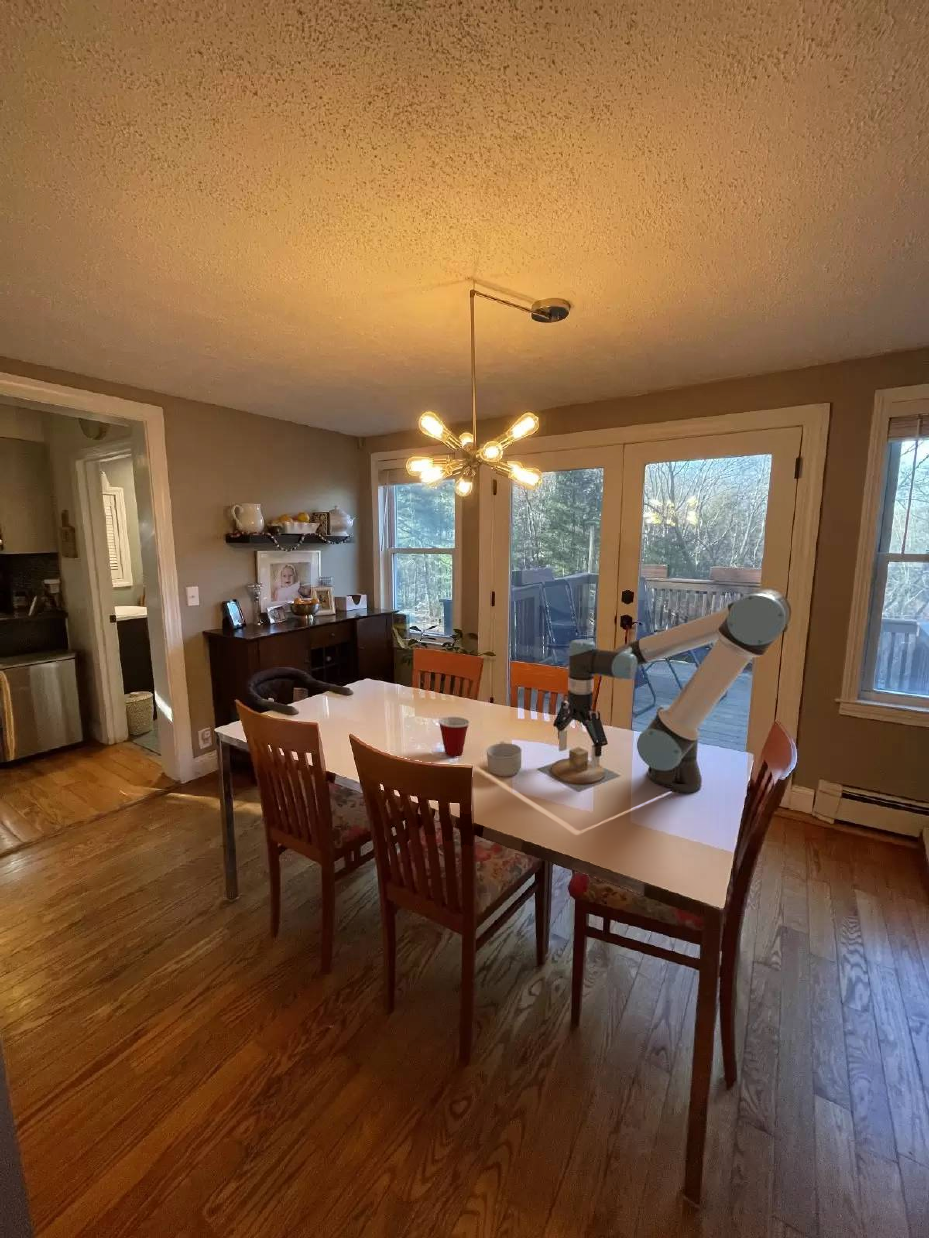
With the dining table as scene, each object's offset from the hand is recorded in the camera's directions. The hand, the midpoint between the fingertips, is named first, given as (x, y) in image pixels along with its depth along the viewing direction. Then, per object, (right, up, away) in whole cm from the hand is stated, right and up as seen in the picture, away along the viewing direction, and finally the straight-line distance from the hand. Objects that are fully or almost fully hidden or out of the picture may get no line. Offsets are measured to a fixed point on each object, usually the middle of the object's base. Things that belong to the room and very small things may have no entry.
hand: (578, 757), depth 159 cm
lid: (0, -5, +1) cm, 5 cm away
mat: (0, -6, +1) cm, 6 cm away
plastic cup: (-39, -3, +17) cm, 42 cm away
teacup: (-22, -6, +4) cm, 23 cm away
